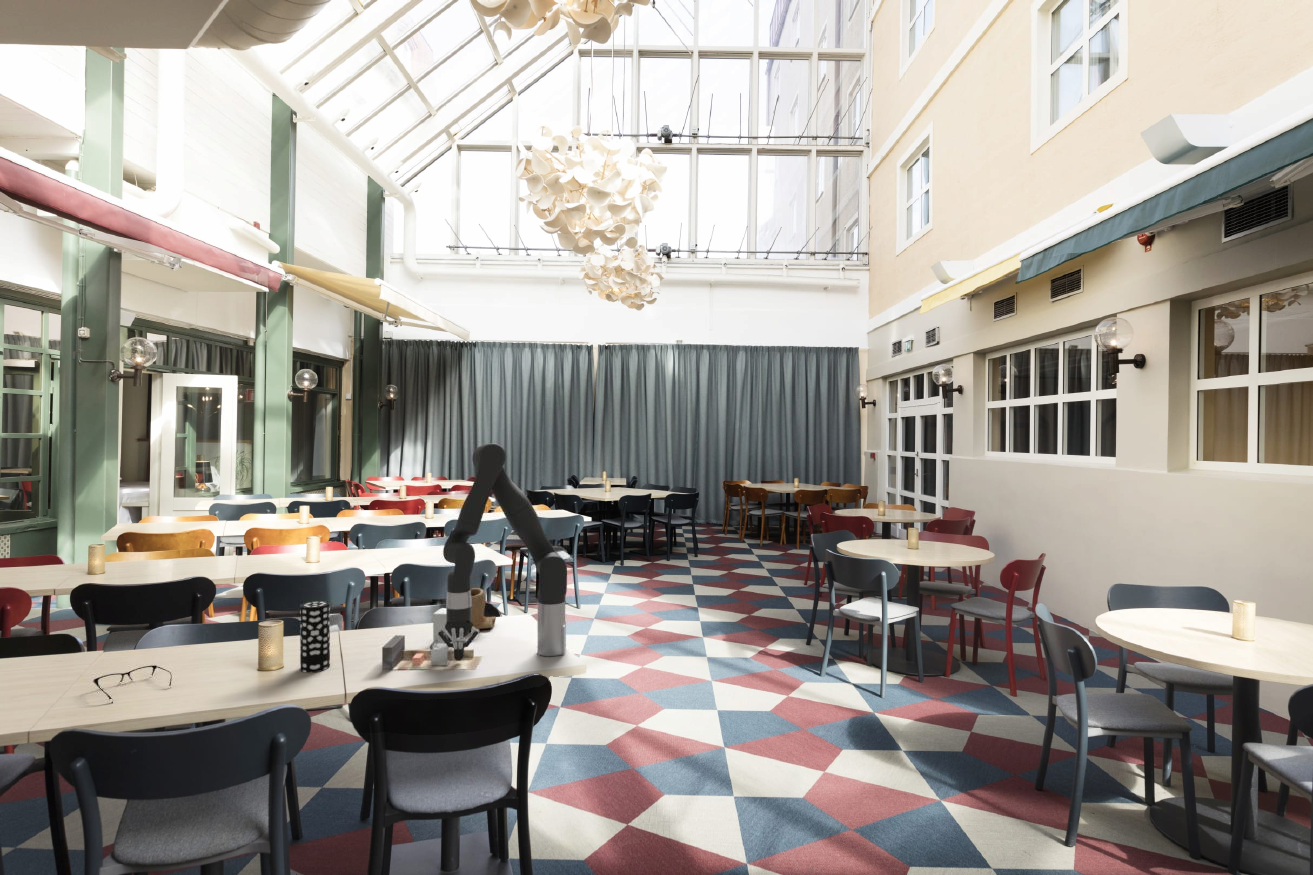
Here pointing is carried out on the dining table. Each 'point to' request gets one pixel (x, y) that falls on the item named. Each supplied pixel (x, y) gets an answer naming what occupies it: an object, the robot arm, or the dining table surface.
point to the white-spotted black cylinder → (314, 636)
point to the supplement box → (439, 624)
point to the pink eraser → (417, 659)
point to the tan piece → (480, 610)
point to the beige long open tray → (402, 659)
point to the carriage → (440, 654)
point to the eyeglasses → (128, 675)
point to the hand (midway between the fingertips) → (459, 659)
